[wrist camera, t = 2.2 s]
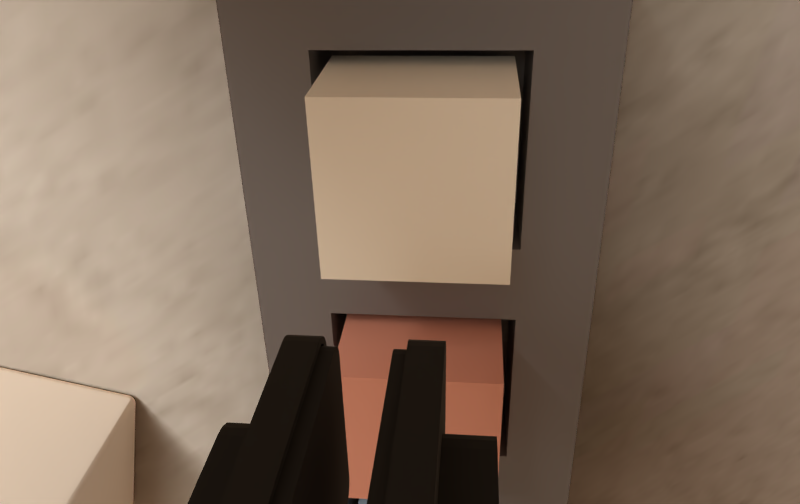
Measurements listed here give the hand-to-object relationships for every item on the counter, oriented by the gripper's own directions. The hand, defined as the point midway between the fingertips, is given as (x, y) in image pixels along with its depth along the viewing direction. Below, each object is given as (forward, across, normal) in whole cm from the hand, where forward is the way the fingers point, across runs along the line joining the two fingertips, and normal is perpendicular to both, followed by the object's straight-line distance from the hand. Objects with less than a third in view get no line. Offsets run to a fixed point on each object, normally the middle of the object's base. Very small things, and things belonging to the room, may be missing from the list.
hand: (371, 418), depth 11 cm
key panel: (+15, 0, +8) cm, 17 cm away
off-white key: (+11, 0, 0) cm, 11 cm away
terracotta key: (+11, 0, +8) cm, 14 cm away
